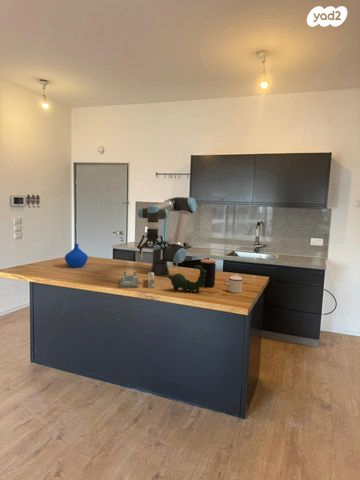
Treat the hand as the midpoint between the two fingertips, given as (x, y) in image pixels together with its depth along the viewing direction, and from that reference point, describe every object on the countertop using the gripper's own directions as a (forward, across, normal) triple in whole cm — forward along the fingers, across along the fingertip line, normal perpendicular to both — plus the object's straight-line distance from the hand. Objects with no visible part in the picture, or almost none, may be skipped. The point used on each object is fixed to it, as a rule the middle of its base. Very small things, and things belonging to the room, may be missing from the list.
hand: (151, 259), depth 229 cm
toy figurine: (+18, -22, +18) cm, 34 cm away
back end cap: (+16, +15, -9) cm, 24 cm away
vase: (+18, +61, -57) cm, 85 cm away
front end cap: (+16, +15, +9) cm, 24 cm away
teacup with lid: (+18, -54, +17) cm, 59 cm away
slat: (+18, 0, 0) cm, 18 cm away
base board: (+18, +15, 0) cm, 23 cm away
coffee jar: (+18, -39, +4) cm, 43 cm away
